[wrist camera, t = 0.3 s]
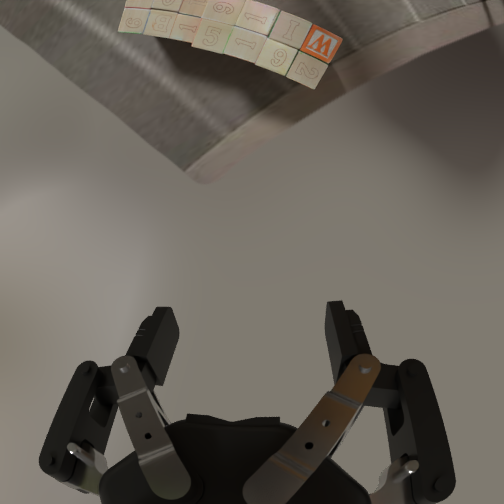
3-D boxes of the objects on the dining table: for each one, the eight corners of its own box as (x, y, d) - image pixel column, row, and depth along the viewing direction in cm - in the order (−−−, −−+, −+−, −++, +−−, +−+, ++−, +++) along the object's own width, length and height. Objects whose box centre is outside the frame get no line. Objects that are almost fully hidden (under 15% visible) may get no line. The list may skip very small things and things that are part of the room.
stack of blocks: (146, 27, 24) (102, 34, 16) (160, -12, 19) (119, -21, 11) (297, 69, 30) (315, 91, 21) (317, 33, 25) (345, 39, 17)
